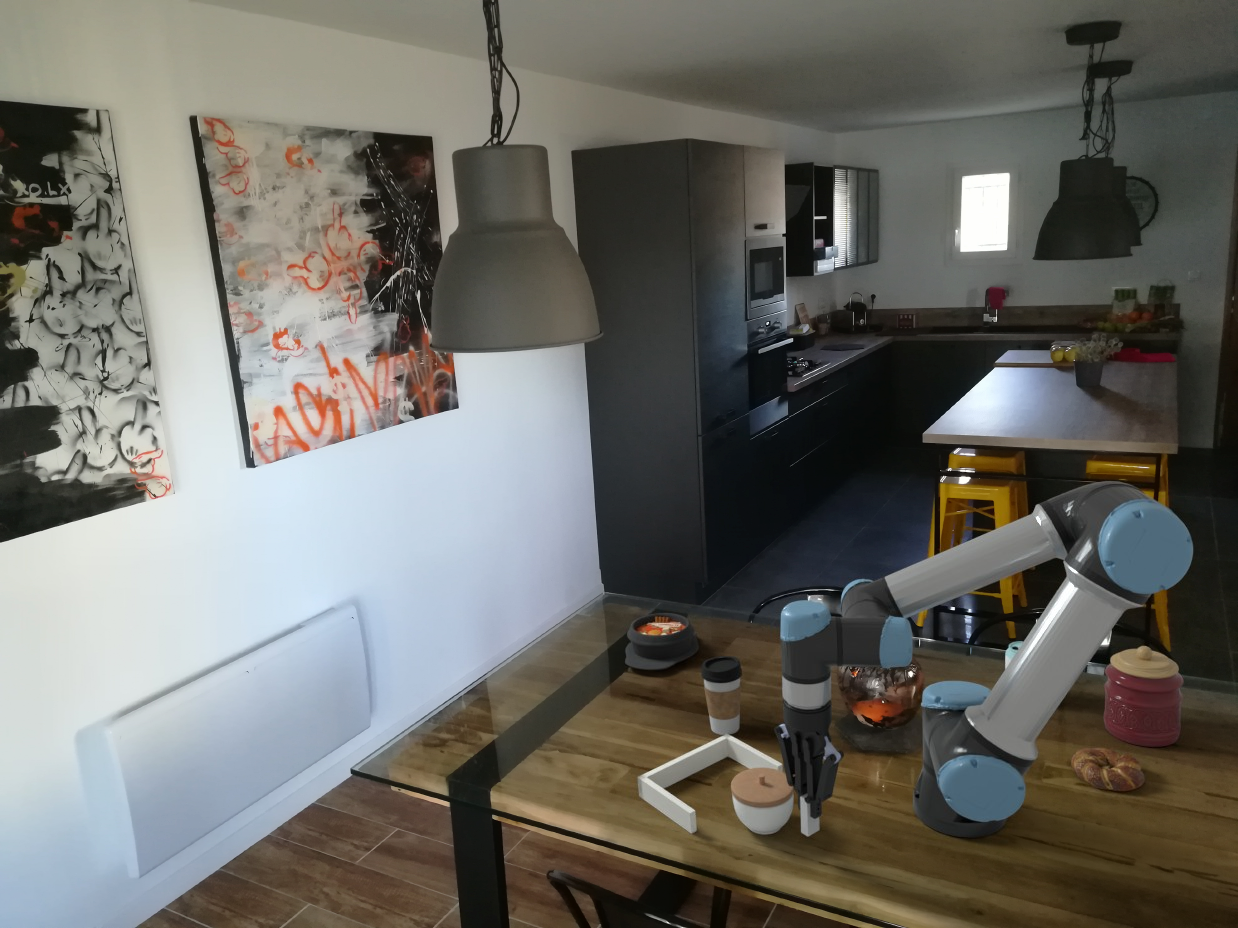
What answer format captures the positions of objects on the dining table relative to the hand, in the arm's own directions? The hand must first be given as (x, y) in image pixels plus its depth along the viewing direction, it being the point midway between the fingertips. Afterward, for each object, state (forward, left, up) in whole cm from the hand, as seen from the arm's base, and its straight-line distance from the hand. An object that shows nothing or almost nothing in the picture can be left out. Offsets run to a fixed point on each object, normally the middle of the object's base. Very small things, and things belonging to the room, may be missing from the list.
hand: (810, 830), depth 146 cm
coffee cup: (+40, -17, -5) cm, 44 cm away
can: (+5, -70, -5) cm, 71 cm away
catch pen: (+25, 0, -5) cm, 26 cm away
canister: (-17, -74, -5) cm, 76 cm away
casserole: (+78, -30, -5) cm, 84 cm away
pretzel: (-20, -55, -5) cm, 59 cm away
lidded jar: (+11, 0, -5) cm, 12 cm away
